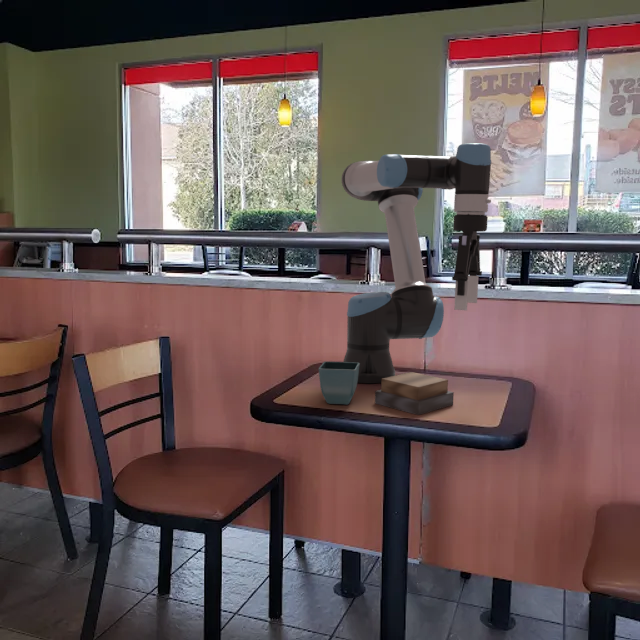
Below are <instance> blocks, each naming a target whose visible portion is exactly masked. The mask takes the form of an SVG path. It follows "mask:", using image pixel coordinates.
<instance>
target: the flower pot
mask: <svg viewBox="0 0 640 640" xmlns="http://www.w3.org/2000/svg"><path fill="white" fill-rule="evenodd" d="M359 365H360V363H355V362H343V361H323V362H322V364H320V366H319V367H318V377H319V384H320V385H319V386H320V391H321V393H322V396H323V398H324V400H325V402H326V403H327V404H329V405H349V404H350V403H351V400H352V398H353V397H354V394H355V392H356V389H357V386H358V374H359Z"/></svg>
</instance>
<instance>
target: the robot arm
mask: <svg viewBox="0 0 640 640" xmlns="http://www.w3.org/2000/svg"><path fill="white" fill-rule="evenodd" d="M491 152H492V148H491V146H490V145H489V144H486V143H478V142H477V143H476V142H474V143H473V142H472V143H462V144H459V145H458V146H457V149H456V154H455V155H454V156H452V155H451V156H450V155H449V156H448V155H447V156H445V155H444V156H443V155H418V154H417V155H413V154H400V153H392V154H389V153H388V154H383V155H381V156H380V159H379V160H360V161H355V162H352V163H350V164H349V165H347V166H346V167H345V168H344V170H343V171H342V174H341V184H342V185H341V186H342V188H343V190H344V192H346V193H347V194H348V195H349V196H350V197H352V198H353V199H356V200H358V201H363V202H366V201H367V202H377V204H378V209H379V211H381V212H382V213H383V214H384V219H385V223H386V230H387V237H388V238H387V239H388V244H389V245H388V246H389V251H390V252H389V253H390V258H391V259H390V260H391V265H392V272H393V278H394V279H393V280H394V286H395V288H394V289H393V290H392V292H391V293H390V292H389V291H377V292H376V291H373V292H366V293H361V294H356V295H353V296H352V297H350V298H349V299H348V304H347V312H346V316H347V329H346V332H347V335H346V338H347V339H346V343H347V344H346V353H345V355H344V358H343V361H342V362H355V363H360V365H359V374H358V382H357V384H358V383H360V384H381V380H382V378H387V377H391V376H395V375H396V370H395V369H396V368H395V367H394V363H393V360H392V355H391V351H390V341H391V340H401V339H402V340H403V339H404V340H406V339H409V340H411V339H419V340H422V339H425V338H426V339H428V338H433V337H435V336H436V335H438V333H439V332H440V330H441V328H442V325H443V321H444V313H445V311H444V310H445V308H444V303H443V300H442V299H441V297H440V296H437V295H434V291H433V287H432V286H430V285H429V284H427V283H426V278H425V277H426V276H425V271H424V265H423V264H424V262H423V258H422V254H421V253H422V251H421V245H420V240H419V234H418V233H419V232H418V227H417V226H418V225H417V220H416V214H415V213H416V212H415V208H416V207H417V206H418V203H419V200H420V199H421V197H422V195H423V192H424V191H423V190H424V189H441V190H449V191H451V190H453V189H454V202H453V212H455V213H456V214H454V215H453V228H452V229H453V230H454V231H455V232H462V235H459V236H458V237H457V238H458V239H457V240H458V244H457V245H458V247H457V254H456V259H455V268H454V274H453V275H452V276H451V277H452V278H451V281H455V286H454V287H455V288H454V310H457V311H468V303H470V304H471V303H472V304H478V292H479V291H478V289H479V277H480V276H482V275H483V271H481V259H480V258H481V257H480V256H481V255H480V251H481V249H480V238H481V236H480V234H478V232H483V233H484V232H486V231H487V229H488V220H489V219H488V218H489V216H488V215H487V214H486V213H488V209H489V204H491V203H492V199H491V198H489V194H490V185H491V184H490V183H491V181H490V180H491V170H492V169H491V167H492V166H491V165H492V159H491V158H492V156H491V155H492V153H491Z"/></svg>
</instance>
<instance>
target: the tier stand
mask: <svg viewBox="0 0 640 640" xmlns="http://www.w3.org/2000/svg"><path fill="white" fill-rule="evenodd" d="M380 384H381V386H380V387H381V388H380V389H378V390H375V391H374V393H375V394H374V404H376V405H379V406H383V407H387V408H391V409H395V410H399V411H402V412H406V413H409V414H414V415H417V416H419V415H424V414H428V413H430V412H433V411H437V410H439V409H444V408H446V407H450V406H453V405H454V393H455V392H454V391H449V387H448V385H449V379H447V378H441V377H437V376H433V375H428V374H423V373H418V372H413V371H410V372H405V373H401V374H395V376H391V377H387V378H382V380H381V383H380Z"/></svg>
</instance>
